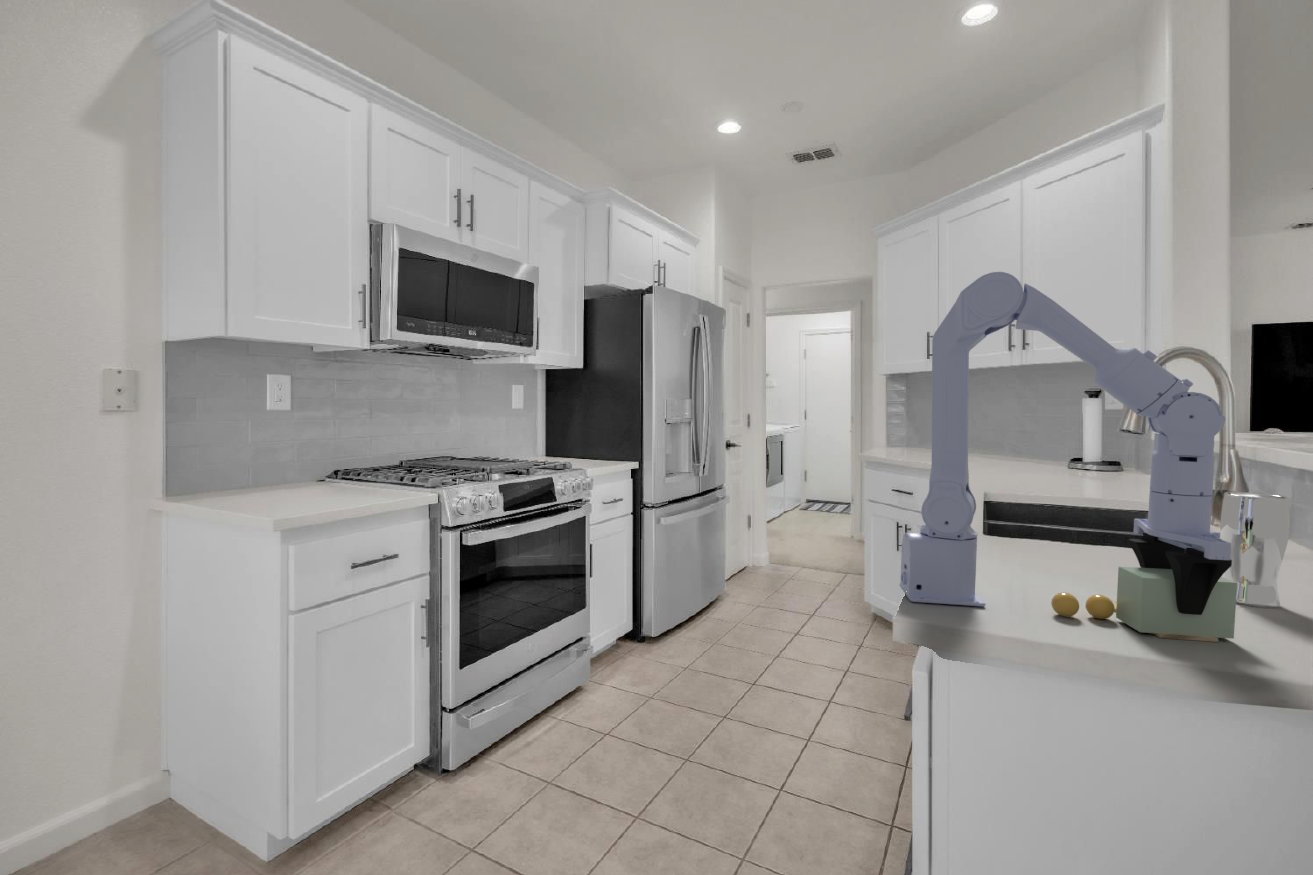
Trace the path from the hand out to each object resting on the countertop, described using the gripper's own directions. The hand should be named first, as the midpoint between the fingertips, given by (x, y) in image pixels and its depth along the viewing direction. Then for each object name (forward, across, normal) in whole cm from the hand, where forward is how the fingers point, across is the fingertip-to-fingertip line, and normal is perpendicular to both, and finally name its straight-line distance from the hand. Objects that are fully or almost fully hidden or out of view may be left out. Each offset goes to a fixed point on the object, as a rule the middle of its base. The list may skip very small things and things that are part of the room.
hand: (1173, 605), depth 75 cm
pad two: (+3, 0, 0) cm, 3 cm away
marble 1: (+3, +3, +10) cm, 11 cm away
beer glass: (+3, +16, -18) cm, 25 cm away
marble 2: (+3, +3, +6) cm, 8 cm away
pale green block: (+3, 0, 0) cm, 3 cm away
